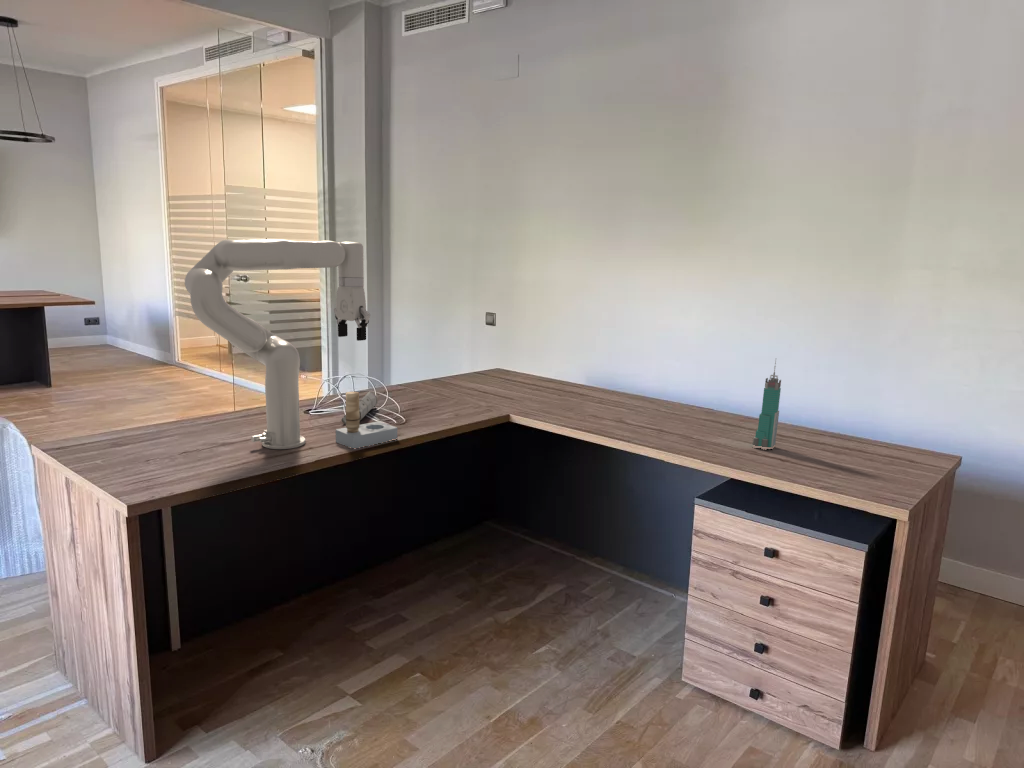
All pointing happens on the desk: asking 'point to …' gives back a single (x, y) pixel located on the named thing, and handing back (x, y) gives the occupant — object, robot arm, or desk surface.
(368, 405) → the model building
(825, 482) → the desk surface
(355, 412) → the peg
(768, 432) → the building
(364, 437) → the board
